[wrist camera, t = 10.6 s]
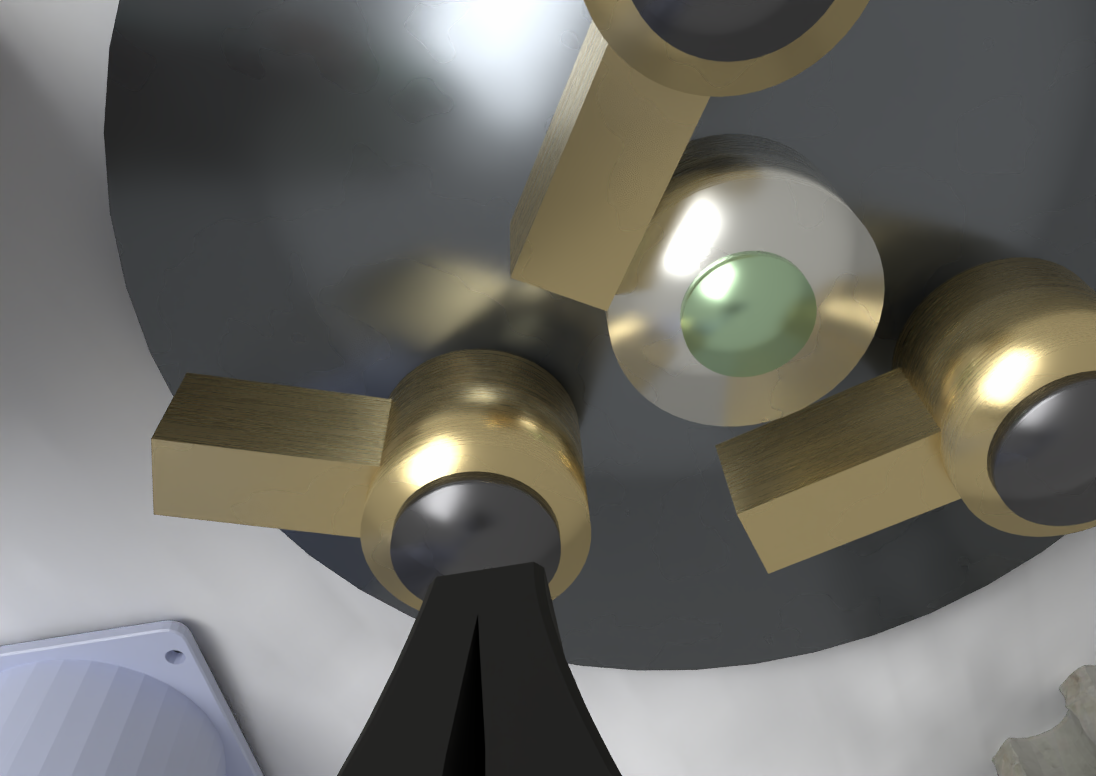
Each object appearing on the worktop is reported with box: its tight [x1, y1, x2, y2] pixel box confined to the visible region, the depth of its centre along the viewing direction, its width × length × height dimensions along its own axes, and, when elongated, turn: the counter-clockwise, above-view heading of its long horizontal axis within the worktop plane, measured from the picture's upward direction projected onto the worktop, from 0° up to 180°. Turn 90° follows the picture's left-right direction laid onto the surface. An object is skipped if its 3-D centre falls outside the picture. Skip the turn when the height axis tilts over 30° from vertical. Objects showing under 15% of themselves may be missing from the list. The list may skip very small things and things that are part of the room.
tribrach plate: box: [104, 0, 1096, 670], centre depth 19 cm, size 24×24×4 cm
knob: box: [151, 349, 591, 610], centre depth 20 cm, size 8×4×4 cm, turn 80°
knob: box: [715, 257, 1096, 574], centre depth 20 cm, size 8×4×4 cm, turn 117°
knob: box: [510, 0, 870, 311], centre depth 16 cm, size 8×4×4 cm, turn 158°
